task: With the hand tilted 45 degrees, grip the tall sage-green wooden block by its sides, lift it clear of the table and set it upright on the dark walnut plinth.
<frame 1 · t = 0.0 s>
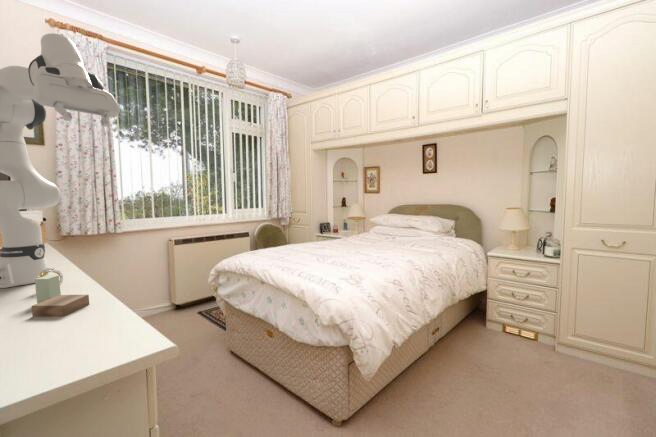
hand: (88, 122, 91), 54 cm above the table, tool tilted 30°, fingers open, 8 cm apart
ring: (51, 290, 111), on the table
plinth: (62, 309, 92), on the table
block: (49, 302, 99), on the table
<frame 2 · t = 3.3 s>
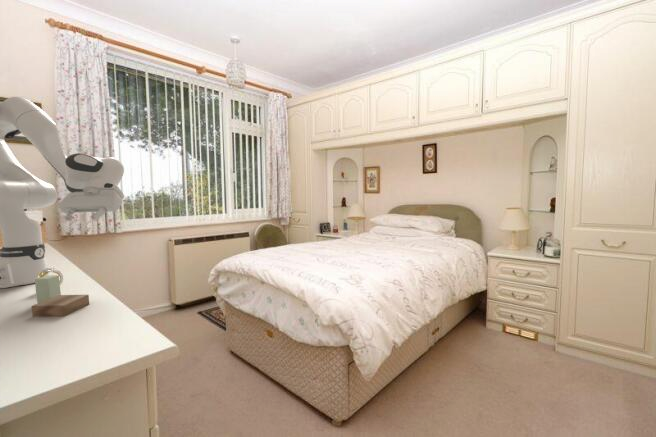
hand: (80, 219, 111), 25 cm above the table, tool tilted 45°, fingers open, 8 cm apart
nothing on the table moved.
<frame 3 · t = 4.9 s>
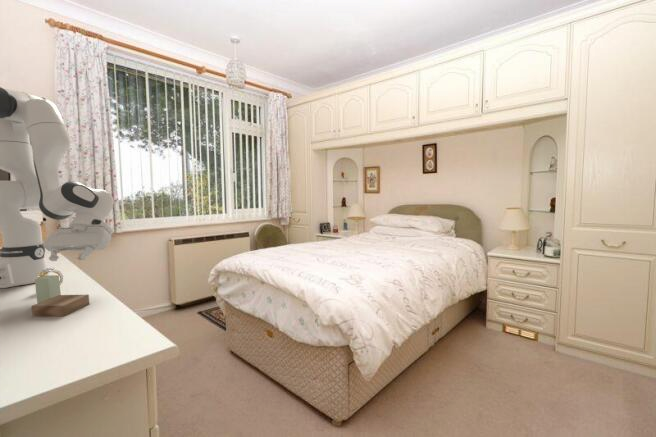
hand: (66, 259, 105), 12 cm above the table, tool tilted 45°, fingers open, 8 cm apart
nothing on the table moved.
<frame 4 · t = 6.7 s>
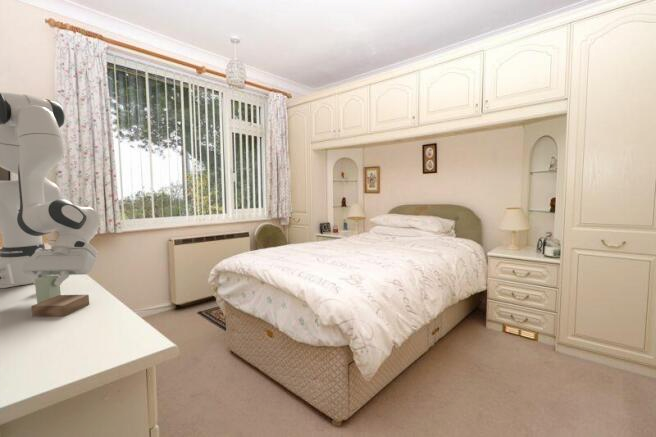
hand: (45, 285, 98), 5 cm above the table, tool tilted 45°, fingers closed on block, 4 cm apart
block: (49, 301, 99), on the table, touching gripper
everything else where it was.
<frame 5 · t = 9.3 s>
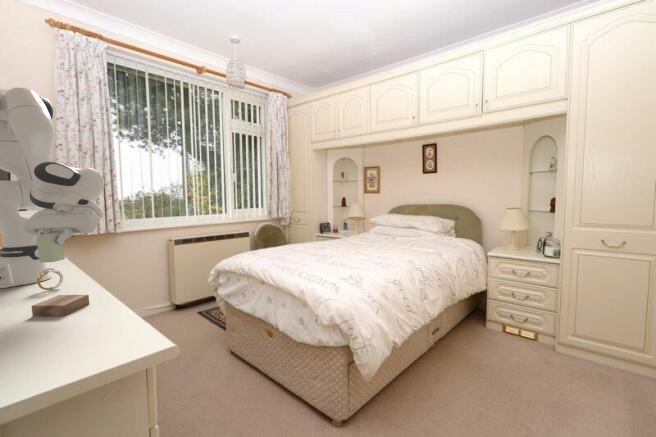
hand: (48, 243, 93), 19 cm above the table, tool tilted 45°, fingers closed on block, 4 cm apart
block: (52, 260, 94), point 14 cm above the table, touching gripper
everything else where it was.
when the fingers open (9 cm above the table, at t = 12.3 s): block stays where it is, resting on plinth.
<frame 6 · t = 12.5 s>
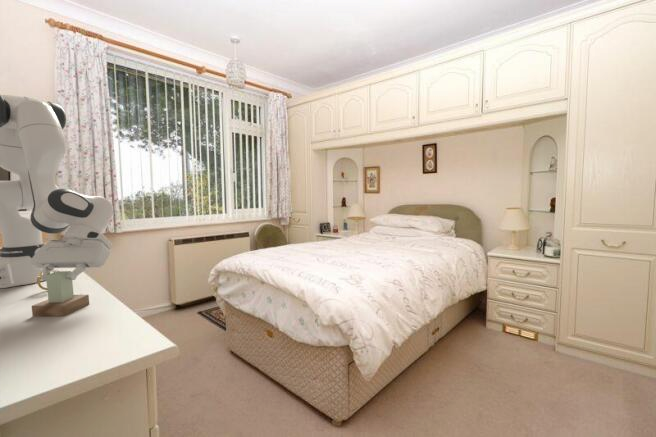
hand: (57, 279, 91), 9 cm above the table, tool tilted 45°, fingers open, 6 cm apart
block: (61, 299, 92), point 3 cm above the table, touching plinth
everything else where it was.
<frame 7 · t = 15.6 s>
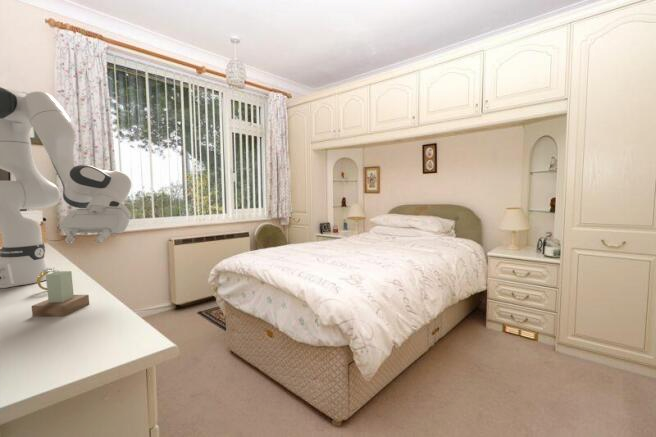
hand: (83, 241, 101), 18 cm above the table, tool tilted 45°, fingers open, 8 cm apart
nothing on the table moved.
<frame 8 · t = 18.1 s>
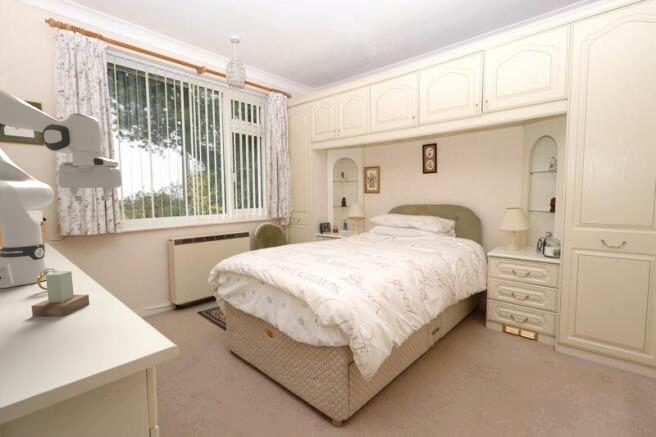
hand: (91, 200, 112), 31 cm above the table, tool pointing down, fingers open, 8 cm apart
nothing on the table moved.
at the end: block 0.1 cm off-centre on the plinth, point 3.0 cm above the plinth's base; block tilted 0°; the gripper is holding nothing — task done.
